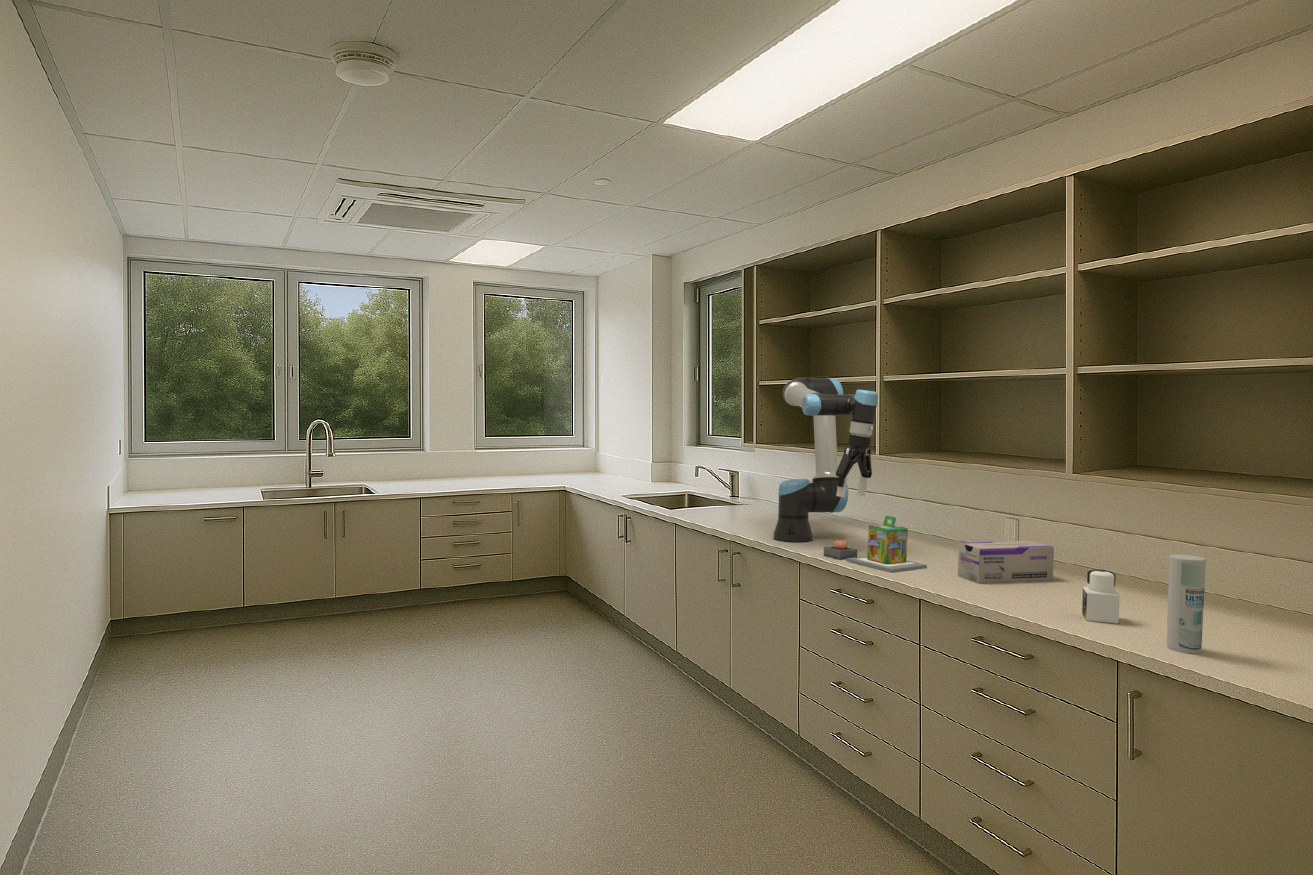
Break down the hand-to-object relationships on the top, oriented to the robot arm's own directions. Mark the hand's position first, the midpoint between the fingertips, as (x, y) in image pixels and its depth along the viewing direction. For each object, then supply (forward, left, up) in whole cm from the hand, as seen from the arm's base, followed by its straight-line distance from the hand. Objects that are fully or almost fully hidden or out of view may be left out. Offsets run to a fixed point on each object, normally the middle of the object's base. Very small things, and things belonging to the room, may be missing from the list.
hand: (850, 496), depth 268 cm
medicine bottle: (+88, -1, -21) cm, 90 cm away
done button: (-2, -2, -19) cm, 19 cm away
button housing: (-2, -2, -21) cm, 21 cm away
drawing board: (+15, +2, -21) cm, 26 cm away
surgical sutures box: (+47, +19, -22) cm, 55 cm away
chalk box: (+15, +2, -20) cm, 25 cm away
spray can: (+111, -9, -21) cm, 113 cm away
